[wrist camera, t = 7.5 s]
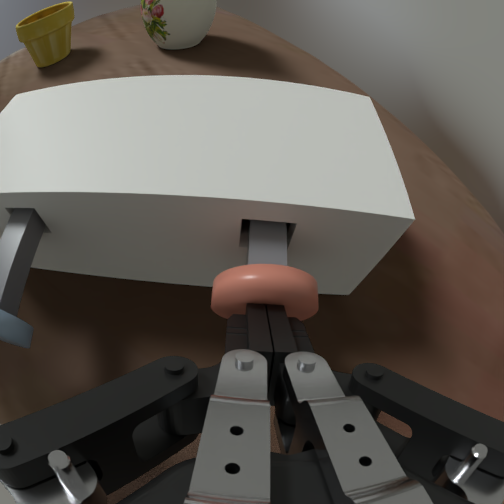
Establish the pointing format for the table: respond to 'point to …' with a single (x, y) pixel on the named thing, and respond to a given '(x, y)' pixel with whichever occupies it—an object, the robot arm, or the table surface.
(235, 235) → the key box
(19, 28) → the plant pot
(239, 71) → the table surface
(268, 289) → the red key
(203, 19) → the pitcher
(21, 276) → the blue key
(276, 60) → the table surface
